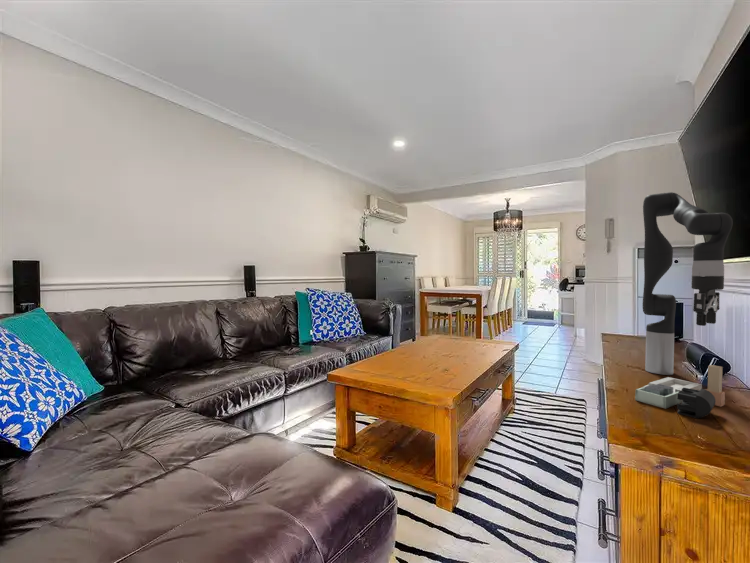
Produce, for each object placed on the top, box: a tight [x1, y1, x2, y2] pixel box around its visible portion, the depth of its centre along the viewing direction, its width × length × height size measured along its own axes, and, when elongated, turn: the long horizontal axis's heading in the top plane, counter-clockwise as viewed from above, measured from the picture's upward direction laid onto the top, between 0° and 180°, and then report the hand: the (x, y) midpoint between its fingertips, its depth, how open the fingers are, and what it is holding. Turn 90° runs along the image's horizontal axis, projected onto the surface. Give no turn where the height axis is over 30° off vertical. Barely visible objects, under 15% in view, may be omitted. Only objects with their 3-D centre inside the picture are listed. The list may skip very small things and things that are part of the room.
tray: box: [634, 385, 681, 409], centre depth 110 cm, size 10×8×4 cm
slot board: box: [643, 376, 707, 404], centre depth 116 cm, size 15×12×4 cm
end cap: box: [676, 388, 716, 419], centre depth 100 cm, size 10×7×7 cm
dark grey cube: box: [645, 384, 665, 396], centre depth 109 cm, size 4×4×4 cm
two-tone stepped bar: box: [705, 364, 726, 407], centre depth 108 cm, size 3×4×12 cm
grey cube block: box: [653, 384, 674, 396], centre depth 111 cm, size 4×4×4 cm
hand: (706, 324), depth 111 cm, fingers open, 8 cm apart
